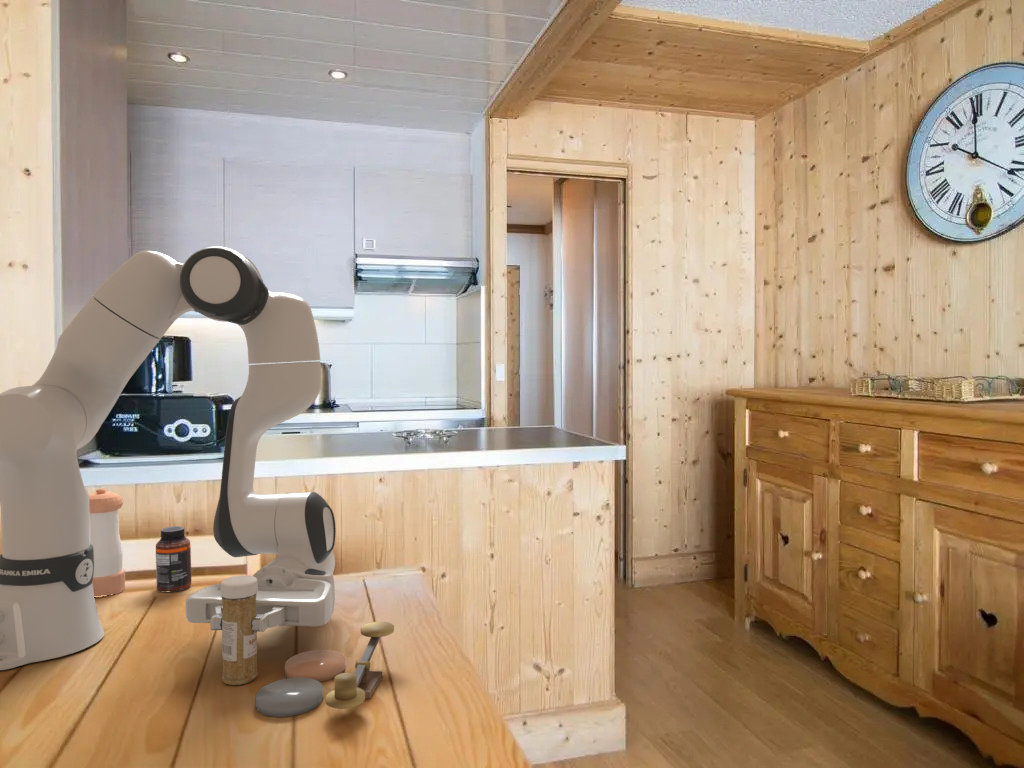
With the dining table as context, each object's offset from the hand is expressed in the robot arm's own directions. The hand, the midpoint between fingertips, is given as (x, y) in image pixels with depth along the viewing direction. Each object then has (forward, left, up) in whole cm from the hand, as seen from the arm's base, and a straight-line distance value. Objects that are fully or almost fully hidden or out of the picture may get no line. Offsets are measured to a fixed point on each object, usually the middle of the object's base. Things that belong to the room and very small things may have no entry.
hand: (236, 625), depth 94 cm
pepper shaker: (-42, +34, -8) cm, 54 cm away
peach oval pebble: (+9, +4, -8) cm, 13 cm away
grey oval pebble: (+9, -5, -8) cm, 13 cm away
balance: (+17, 0, -8) cm, 19 cm away
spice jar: (0, +1, -8) cm, 8 cm away
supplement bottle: (-30, +37, -8) cm, 48 cm away
